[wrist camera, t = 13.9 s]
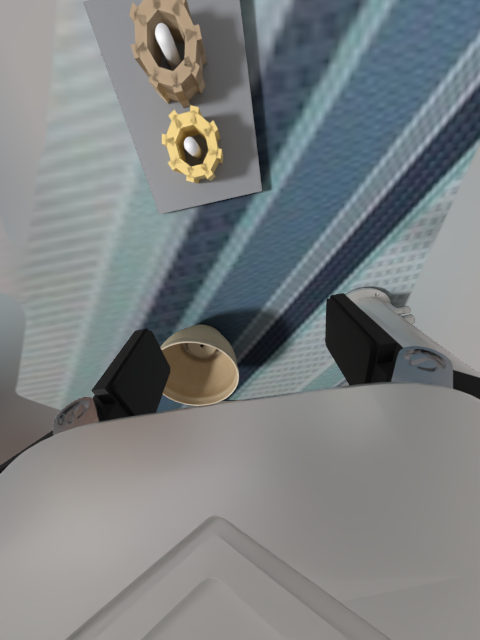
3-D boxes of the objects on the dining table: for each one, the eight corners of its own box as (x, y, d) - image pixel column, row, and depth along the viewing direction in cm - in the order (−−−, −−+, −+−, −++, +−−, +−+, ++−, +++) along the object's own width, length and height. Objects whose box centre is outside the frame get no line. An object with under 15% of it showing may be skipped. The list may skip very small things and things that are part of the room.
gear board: (234, -33, 21) (233, -121, 15) (260, 191, 32) (266, 190, 26) (91, 13, 23) (40, -52, 17) (162, 213, 33) (146, 217, 27)
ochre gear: (215, 113, 26) (212, 99, 22) (227, 176, 29) (226, 174, 26) (165, 126, 26) (153, 115, 23) (182, 187, 30) (174, 186, 26)
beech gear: (179, -1, 21) (166, -44, 17) (217, 78, 24) (214, 57, 20) (134, 53, 23) (114, 25, 19) (175, 121, 26) (165, 108, 22)
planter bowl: (239, 310, 43) (240, 343, 33) (237, 367, 51) (237, 405, 42) (160, 308, 42) (139, 341, 33) (171, 366, 50) (157, 405, 41)
